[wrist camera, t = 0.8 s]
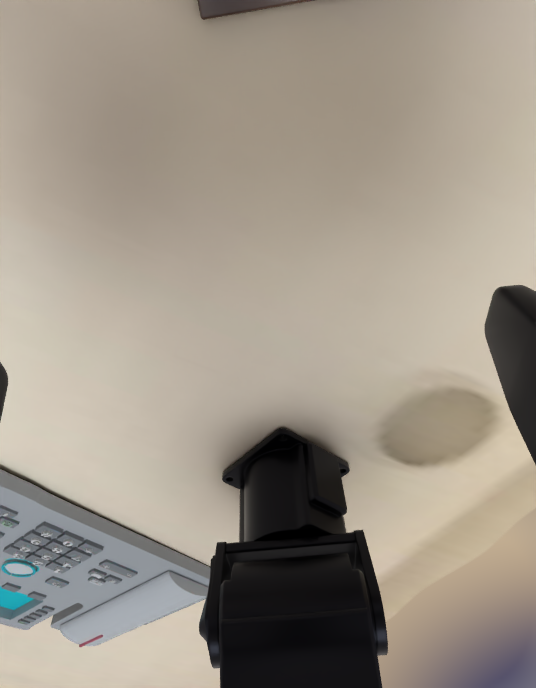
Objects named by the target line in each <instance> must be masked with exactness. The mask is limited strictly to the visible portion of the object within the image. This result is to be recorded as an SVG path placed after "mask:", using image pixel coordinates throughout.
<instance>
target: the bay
mask: <svg viewBox="0 0 536 688" xmlns="http://www.w3.org/2000/svg"><path fill="white" fill-rule="evenodd" d="M308 1H313V0H198V5H199V11H200V16H201V18H202V19H203V20H205V19H211V18H216V17H222V16H228V15H234V14H239V13H245V12H251V11H256V10H262V9H268V8H273V7H279V6H285V5H291V4H296V3H302V2H308Z"/></svg>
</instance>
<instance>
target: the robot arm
mask: <svg viewBox="0 0 536 688" xmlns="http://www.w3.org/2000/svg"><path fill="white" fill-rule="evenodd" d="M485 336H486V340H487V343H488V346H489V349H490V352H491V355H492V358H493V361H494V364H495V367H496V370H497V373H498V376H499V379H500V382H501V385H502V388H503V391H504V394H505V397H506V400H507V403H508V406H509V408H510V411H511V413H512V415H513V418H514V420H515V422H516V424H517V426H518V429H519V431H520V433H521V435H522V437H523V439H524V441H525V443H526V445H527V448H528V450H529V452H530V454H531V456H532V458H533V460H534V462H535V464H536V291H534V290H532V289H530V288H528V287H526V286H523V285H513V286H503V287H499V288H497V289H496V290H495V292H494V294H493V296H492V300H491V304H490V307H489V311H488V315H487V318H486V322H485ZM7 386H8V376H7V373H6V370H5V369H4V367H3V365H2V364H1V362H0V421H1V416H2V411H3V406H4V401H5V396H6V391H7ZM349 471H350V469H349V465H348V463H347V462H345V461H343V460H341V459H340V458H338V457H336V456H334V455H332V454H331V453H329V452H327V451H325V450H324V449H322V448H320V447H318V446H316V445H315V444H313V443H311V442H309V441H307V440H306V439H304V438H302V437H300V436H299V435H297V434H295V433H293V432H291V431H290V430H288V429H283V428H282V429H279V430H277V431H275V432H274V433H273V434H272V435H270V436H269V437H268V438H267V439H265V440H264V441H263V442H261V443H260V444H259V445H258V446H256V447H255V448H254V449H252V450H251V451H250V452H249V453H247V454H246V455H245V456H243V457H242V458H241V459H240V460H238V461H237V462H236V463H234V464H233V465H232V466H231V467H229V468H228V469H227V470H226V471H224V472H223V476H222V480H223V482H225V483H227V484H229V485H231V486H234V487H236V488H238V489H240V531H239V542H237V543H226V542H219V543H217V546H216V554H215V556H213V558H212V559H211V569H210V581H209V588H208V594H207V597H206V601H205V604H204V608H203V612H202V615H201V619H200V623H199V632H200V635H201V636H202V637H203V638H204V639H205V640H206V641H207V646H208V650H209V655H210V660H211V664H212V667H213V668H220V688H382V683H381V677H380V670H379V663H378V657H377V656H378V655H387V652H388V641H387V631H386V624H385V616H384V610H383V605H382V600H381V595H380V591H379V587H378V583H377V579H376V576H375V572H374V568H373V565H372V561H371V557H370V554H369V550H368V546H367V543H366V539H365V535H364V532H363V530H356V531H354V532H351V533H346V528H345V523H344V517H343V515H345V514H346V513H347V506H346V501H345V495H344V490H343V485H342V479H341V477H343V476H344V475H346V474H347V473H349Z"/></svg>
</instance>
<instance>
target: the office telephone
mask: <svg viewBox="0 0 536 688" xmlns="http://www.w3.org/2000/svg"><path fill="white" fill-rule="evenodd" d="M210 569H211V567H208V566H206V565H204V564H202V563H200V562H198V561H195V560H193V559H191V558H189V557H187V556H184V555H182V554H180V553H178V552H176V551H174V550H171V549H169V548H167V547H165V546H163V545H160V544H158V543H156V542H154V541H152V540H150V539H147V538H145V537H143V536H141V535H139V534H136V533H134V532H132V531H130V530H128V529H126V528H123V527H121V526H119V525H117V524H115V523H112V522H110V521H108V520H106V519H104V518H102V517H99V516H97V515H95V514H93V513H91V512H88V511H86V510H84V509H82V508H80V507H78V506H75V505H73V504H71V503H69V502H67V501H65V500H62V499H60V498H58V497H56V496H54V495H52V494H50V493H48V492H46V491H44V490H42V489H41V488H39V487H37V486H35V485H33V484H31V483H29V482H27V481H25V480H23V479H20V478H18V477H16V476H14V475H12V474H10V473H7V472H5V471H3V470H1V469H0V624H3V625H7V626H11V627H15V628H19V629H23V630H28V629H30V628H31V627H32V626H34V625H36V624H37V623H39V622H41V621H43V620H45V619H47V618H49V617H50V616H52V615H53V619H52V622H51V627H52V628H55V629H58V630H60V631H61V633H62V634H63V636H65V637H66V638H67V639H68V640H70V641H72V642H74V643H76V644H79V647H82V646H96V645H99V644H101V643H104V642H106V641H108V640H110V639H112V638H115V637H117V636H119V635H121V634H123V633H126V632H128V631H131V630H133V629H135V628H137V627H139V626H141V625H145V624H148V623H151V622H153V621H155V620H158V619H160V618H162V617H165V616H167V615H169V614H172V613H174V612H176V611H179V610H181V609H183V608H186V607H188V606H190V605H193V604H195V603H197V602H200V601H202V600H204V599H206V597H207V594H208V588H209V581H210Z"/></svg>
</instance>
